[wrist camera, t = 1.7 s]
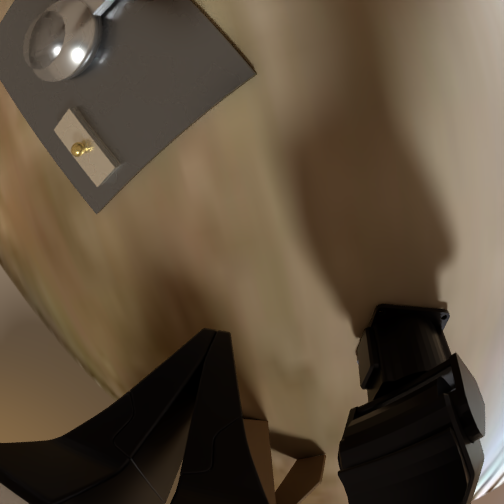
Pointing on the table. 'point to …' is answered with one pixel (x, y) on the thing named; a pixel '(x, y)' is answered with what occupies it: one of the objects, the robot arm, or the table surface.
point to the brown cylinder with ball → (64, 38)
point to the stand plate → (122, 89)
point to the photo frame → (299, 477)
